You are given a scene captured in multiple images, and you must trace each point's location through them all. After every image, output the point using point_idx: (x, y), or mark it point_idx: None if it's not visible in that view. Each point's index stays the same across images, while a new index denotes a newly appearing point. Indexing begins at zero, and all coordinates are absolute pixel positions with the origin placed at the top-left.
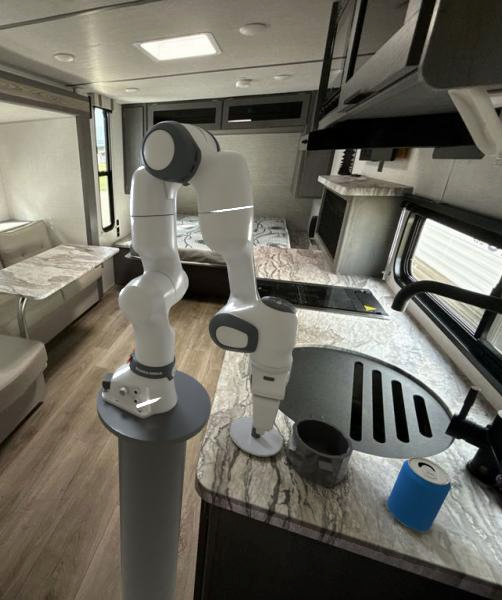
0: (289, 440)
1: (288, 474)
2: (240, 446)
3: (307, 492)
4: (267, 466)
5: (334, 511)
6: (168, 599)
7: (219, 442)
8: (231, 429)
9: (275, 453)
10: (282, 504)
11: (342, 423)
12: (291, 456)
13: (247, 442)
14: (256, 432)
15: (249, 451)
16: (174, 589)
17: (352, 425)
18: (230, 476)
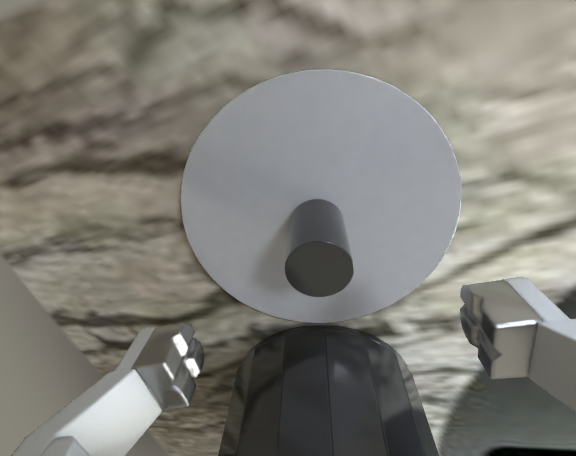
0: (314, 379)
1: (213, 338)
2: (181, 182)
3: None
4: (194, 284)
5: (183, 418)
6: None
7: (156, 52)
8: (273, 89)
9: (259, 308)
10: (94, 338)
11: (567, 436)
12: (263, 364)
13: (235, 203)
14: (141, 333)
15: (185, 227)
16: None
17: (564, 453)
18: (28, 184)
